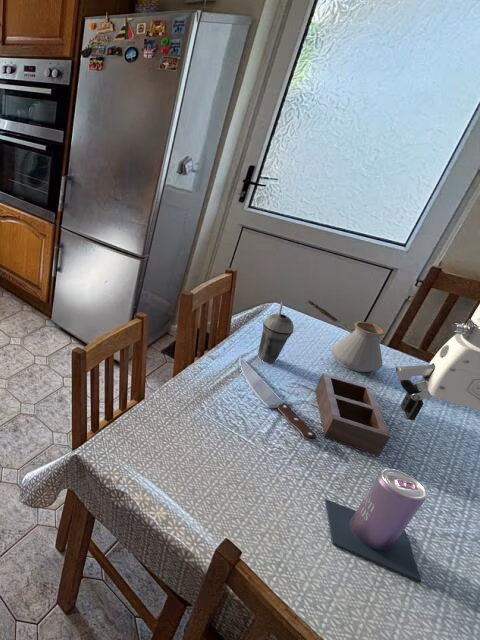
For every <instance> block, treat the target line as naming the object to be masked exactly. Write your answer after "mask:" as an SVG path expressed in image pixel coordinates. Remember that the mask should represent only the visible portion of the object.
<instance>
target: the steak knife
mask: <svg viewBox="0 0 480 640" xmlns="http://www.w3.org/2000/svg"><path fill="white" fill-rule="evenodd" d="M239 362H240V364H241V365H240V366H241V370H242V372H243V375H244V376H245V378H246V380H245V381H246V383H247V385H248V386H249V388H250V389H251V391H252V392H253V393H254V394H255V396H256V397H257V398H258V399H259V400H260V401H261V402H262V405H264V406H265V407H266V408H267V409H277V410H278V412H279V413H280V414H281V415H282V416H283V417H284V419H286V421H287V422H288V423H289V424H290V426H292V427H293V428H294V429H295V430H297V432H298V433H299V434H300V435H301V437H302V438H303V439H304V440H306V441H308V442H313V441H316V440H317V435H316V433H315V432H314V431H313V430H312V429H311V427H309V426H308V425H307V424H306V422H305V421H304V420H303V419H302V418H301V417H300V416H299V415H298V414H297V413H296V412H295V411H294V410H293V409H292V407H291V406H290V405H289V404H287V403H286V402H285V401H284V400H283V399H281V398H280V397H279V396H278V394H277V393H275V391H274V390H273V389H272V388H271V387H270V385H268V384H267V383H266V382H265V381H264V379H262V378H261V376H260V375H259V374H258V373H257V372H256V371H255V370H254V369H253V368H252V367H251V365H250V364H249V363H247V361H245V359H243V358H242V357H241V356H240V357H239V359H238V363H239ZM241 370H240V371H241ZM242 372H241V373H242ZM243 375H242V376H243ZM245 378H244V379H245Z"/></svg>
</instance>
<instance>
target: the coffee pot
mask: <svg viewBox="0 0 480 640" xmlns="http://www.w3.org/2000/svg"><path fill="white" fill-rule="evenodd" d="M307 304H310V305H311V306H312V307H313V308H314V309H316V310H318V311H319V312H320V313H321V314H322V315H323V316H325V317H326V318H329V319H330V320H332V321H333V322H334V323H336V324H338V325H339V326H340V327H341V328H343V329H345V330H346V331H347V332H348V333H349V334H347V335H345V336H344V337H342V338H341V339H340V340H338V341H337V342H336V343H333V345H331V347H330V352H331V355H332V357H333V358H334V359H335V360H336V362H337V363H338V364H339V365H341V366H342V367H344V368H346V369H348V370H351V371H354V372H358V373H368V372H375V371H378V370H380V369H381V368H382V367H383V357H382V349H381V343H380V337H381V336H384V335H385V333H386V331H385V330H384V329H383V328H382V327H380V326H379V325H377V324H375V323H372V322H367V321H355V323H354V327H355V329H352V328H350V327H349V326H347V325H346V324H344V323H343V322H342V321H340V320H338V319H337V318H336V317H335V316H334V315H333V314H331V313H330V312H329V311H327V310H326V309H324V308H322V307H321V306H319V304H318V303H317V304H316V303H314V301H312V300H307V301H306V302H305V303H304V304H303V305H304V306H306V305H307Z"/></svg>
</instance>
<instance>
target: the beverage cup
mask: <svg viewBox="0 0 480 640" xmlns="http://www.w3.org/2000/svg"><path fill="white" fill-rule="evenodd" d="M283 305H284V301H280V305H279V310H278V313H272V314H270V315H268V316H267V317H266V318H265V319H264V321H263V323H262V324H263V325H262V333H261V338H260V343H259V346H258V351H257V357H258V356H259V358H260V359H261V360H260V359H259V358H258V359H259V360H260V361H262V360H263V361H264V362H263V361H262V362H263V363H267V364H275V363H276V361H277V359H279V356H280V355H281V352H282V351H283V349H284V347H285V345H286V343H287V341H288V339H289V338H290V337H291V335H292V334H293V333H294V326H295V325H294V323H293V320H292V319H291V318H290V317H289V316H288V315H286V314H283V313H282V310H283V307H284V306H283Z"/></svg>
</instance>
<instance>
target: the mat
mask: <svg viewBox="0 0 480 640" xmlns="http://www.w3.org/2000/svg"><path fill="white" fill-rule="evenodd" d="M324 502H325V509H326V516H327V522H328V528H329V533H330V534H329V535H330V540H331V545H332V546H335V547H337V548H340V549H342V550H345V551H347V552H349V553H351V554H354V555H356V556H358V557H361V558H363V559H365V560H368V561H370V562H372V563H374V564H377V565H379V566H382V567H384V568H386V569H388V570H391V571H392V572H395V573H397V574H400V575H402V576H404V577H407V578H409V579H412V580H413V581H416V582H418V583H422V578H421V575H420V572H419V570H418V566H417V563H416V560H415V556H414V553H413V550H412V548H411V544H410V541H409V538H408V536H407V532H406V529H404V531H403V532H402V534H401V535H400V536H399V538H398V539H397V541H396V542H395V543H394V545H393V546H392V548H391V549H390V550H385V551H381V550H376V549H373V548H371V547H369V546H367V545H365V544H364V543H362V542H361V541H360V540H359V539H358V538H357V537H356V536H355V535H354V533H353V532H352V530H351V527H350V521H351V519H352V517H353V516H354V514H355V512H356V511H357V510H355V509H353V508H350V507H347V506H345V505H342V504H339V503H337V502H334V501H332V500H330V499H326V498H325V499H324Z"/></svg>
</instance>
